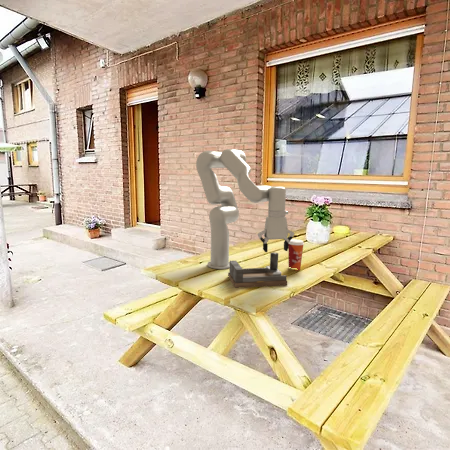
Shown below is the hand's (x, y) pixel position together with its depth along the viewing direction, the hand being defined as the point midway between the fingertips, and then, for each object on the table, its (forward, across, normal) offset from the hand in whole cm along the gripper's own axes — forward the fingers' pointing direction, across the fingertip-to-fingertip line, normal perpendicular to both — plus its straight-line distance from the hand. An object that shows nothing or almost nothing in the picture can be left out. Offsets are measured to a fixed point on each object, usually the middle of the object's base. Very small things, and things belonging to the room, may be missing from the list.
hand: (275, 251), depth 154 cm
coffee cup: (+14, -16, -16) cm, 27 cm away
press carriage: (+12, +1, -1) cm, 12 cm away
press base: (+14, +9, -1) cm, 16 cm away
